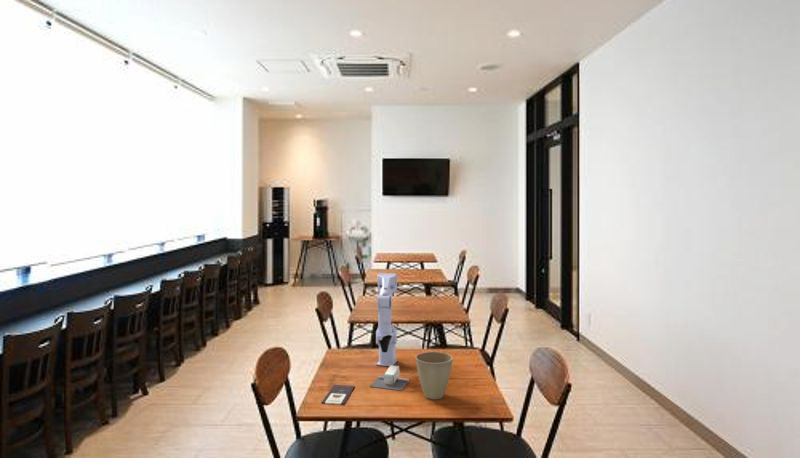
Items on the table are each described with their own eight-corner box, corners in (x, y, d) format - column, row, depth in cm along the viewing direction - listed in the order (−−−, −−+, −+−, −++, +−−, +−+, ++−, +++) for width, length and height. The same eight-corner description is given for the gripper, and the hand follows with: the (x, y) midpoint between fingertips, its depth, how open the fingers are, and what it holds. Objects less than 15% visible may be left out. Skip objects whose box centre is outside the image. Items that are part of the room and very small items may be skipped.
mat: (377, 379, 215) (377, 378, 215) (407, 383, 211) (407, 382, 211) (369, 386, 206) (369, 386, 206) (401, 390, 202) (401, 390, 202)
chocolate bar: (354, 386, 206) (344, 403, 188) (354, 388, 206) (344, 405, 188) (333, 384, 207) (321, 402, 190) (333, 387, 207) (321, 404, 190)
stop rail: (378, 378, 216) (378, 375, 216) (408, 381, 212) (408, 378, 212) (377, 379, 215) (377, 376, 215) (407, 382, 211) (407, 380, 211)
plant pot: (460, 398, 195) (460, 358, 194) (429, 406, 187) (429, 365, 186) (437, 386, 207) (437, 349, 206) (408, 393, 199) (408, 355, 198)
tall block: (390, 365, 216) (383, 375, 208) (399, 366, 215) (392, 376, 207) (390, 373, 217) (384, 384, 209) (399, 374, 216) (393, 385, 208)
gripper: (381, 318, 228) (381, 346, 228) (370, 325, 214) (370, 355, 215) (396, 319, 226) (396, 348, 226) (385, 326, 212) (385, 357, 213)
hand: (384, 351), depth 220 cm, fingers closed
